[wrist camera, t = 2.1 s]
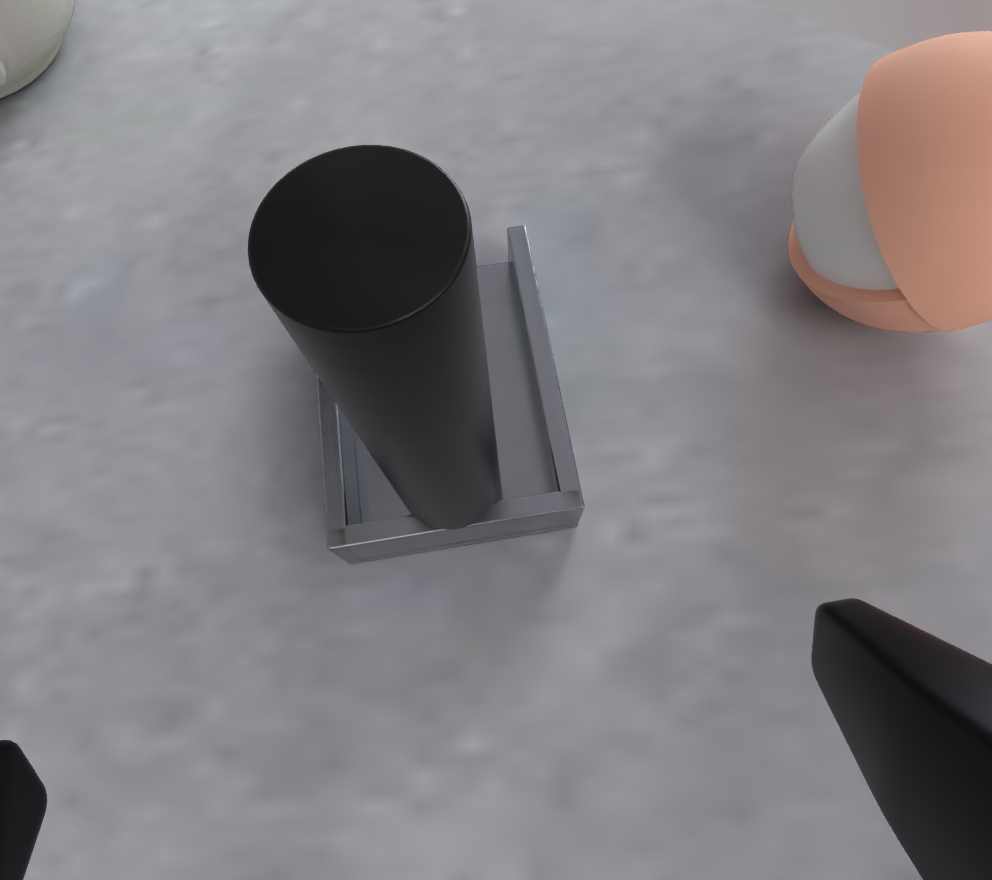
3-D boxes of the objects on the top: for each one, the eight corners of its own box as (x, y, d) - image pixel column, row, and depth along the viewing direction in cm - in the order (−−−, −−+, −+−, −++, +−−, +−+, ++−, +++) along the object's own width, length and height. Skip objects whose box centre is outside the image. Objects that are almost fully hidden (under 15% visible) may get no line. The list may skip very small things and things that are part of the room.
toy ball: (777, 159, 24) (888, -69, 17) (997, 212, 23) (1220, -9, 16) (727, 340, 22) (833, 165, 14) (971, 409, 21) (1222, 258, 13)
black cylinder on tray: (577, 527, 20) (664, 282, 8) (349, 565, 20) (67, 376, 8) (525, 268, 23) (526, -192, 11) (328, 299, 23) (108, -131, 11)
